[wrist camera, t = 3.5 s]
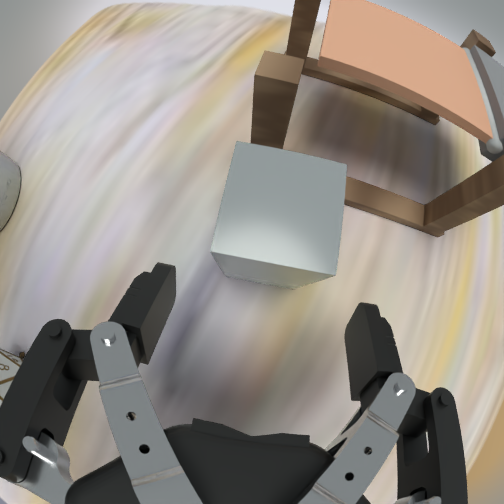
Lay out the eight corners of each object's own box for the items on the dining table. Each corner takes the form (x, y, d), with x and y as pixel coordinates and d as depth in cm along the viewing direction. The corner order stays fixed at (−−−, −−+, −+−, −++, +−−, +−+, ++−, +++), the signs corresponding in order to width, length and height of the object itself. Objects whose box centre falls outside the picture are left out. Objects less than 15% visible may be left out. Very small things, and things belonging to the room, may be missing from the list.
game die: (36, 372, 22) (-42, 343, 14) (63, 343, 20) (-36, 303, 12) (44, 450, 16) (-45, 430, 9) (73, 442, 14) (-47, 416, 7)
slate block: (225, 276, 21) (210, 251, 11) (239, 211, 22) (236, 141, 12) (292, 289, 21) (335, 275, 11) (303, 224, 22) (347, 164, 12)
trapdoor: (312, 82, 13) (324, 43, 10) (328, 6, 15) (336, -22, 12) (527, 191, 13) (552, 177, 10) (502, 95, 15) (519, 79, 12)
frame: (245, 176, 22) (249, 48, 10) (284, 57, 25) (301, -43, 12) (437, 237, 22) (545, 189, 9) (433, 112, 25) (493, 43, 12)
